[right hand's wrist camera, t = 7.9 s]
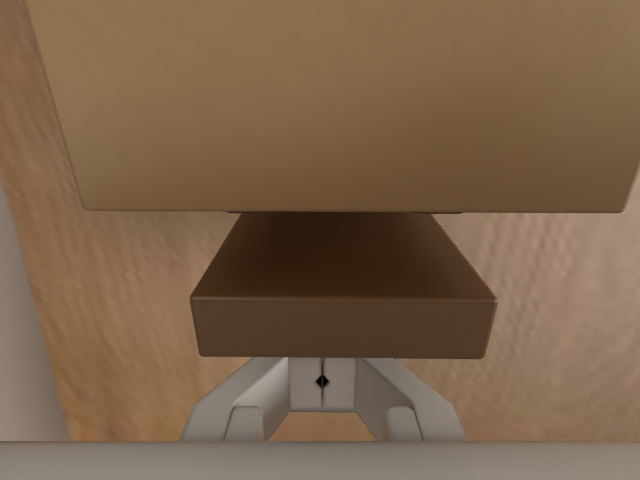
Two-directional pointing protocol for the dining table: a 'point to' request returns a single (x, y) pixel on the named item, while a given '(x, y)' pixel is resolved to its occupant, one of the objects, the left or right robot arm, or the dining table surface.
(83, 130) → the cabinet
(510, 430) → the dining table surface
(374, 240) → the drawer
